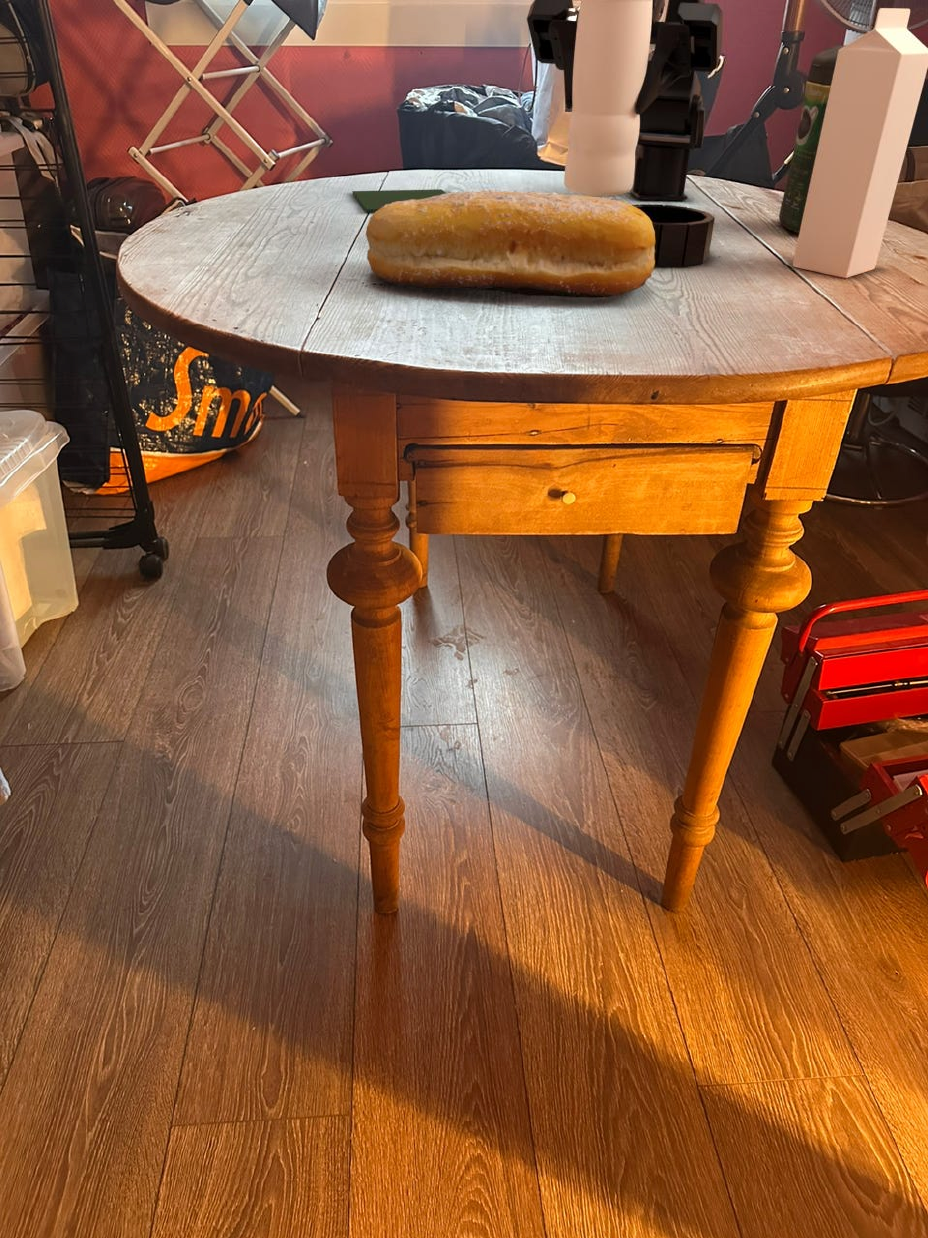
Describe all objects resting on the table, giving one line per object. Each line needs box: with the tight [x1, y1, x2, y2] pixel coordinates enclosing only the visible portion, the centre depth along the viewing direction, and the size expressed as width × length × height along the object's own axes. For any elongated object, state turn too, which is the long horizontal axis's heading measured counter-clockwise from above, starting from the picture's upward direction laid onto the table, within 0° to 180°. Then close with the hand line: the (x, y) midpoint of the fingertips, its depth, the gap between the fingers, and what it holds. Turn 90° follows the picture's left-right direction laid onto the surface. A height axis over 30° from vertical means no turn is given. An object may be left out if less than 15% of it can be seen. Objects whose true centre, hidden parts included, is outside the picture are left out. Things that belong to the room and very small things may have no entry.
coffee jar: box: [778, 44, 847, 234], centre depth 103 cm, size 10×8×19 cm
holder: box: [631, 203, 716, 268], centre depth 95 cm, size 10×10×4 cm
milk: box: [792, 7, 928, 279], centre depth 87 cm, size 6×6×22 cm
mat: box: [352, 188, 447, 214], centre depth 117 cm, size 12×12×1 cm
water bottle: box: [563, 0, 652, 198], centre depth 88 cm, size 7×7×25 cm
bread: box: [365, 189, 655, 299], centre depth 83 cm, size 13×26×8 cm, turn 84°
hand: (602, 108), depth 90 cm, fingers closed on water bottle, 7 cm apart
